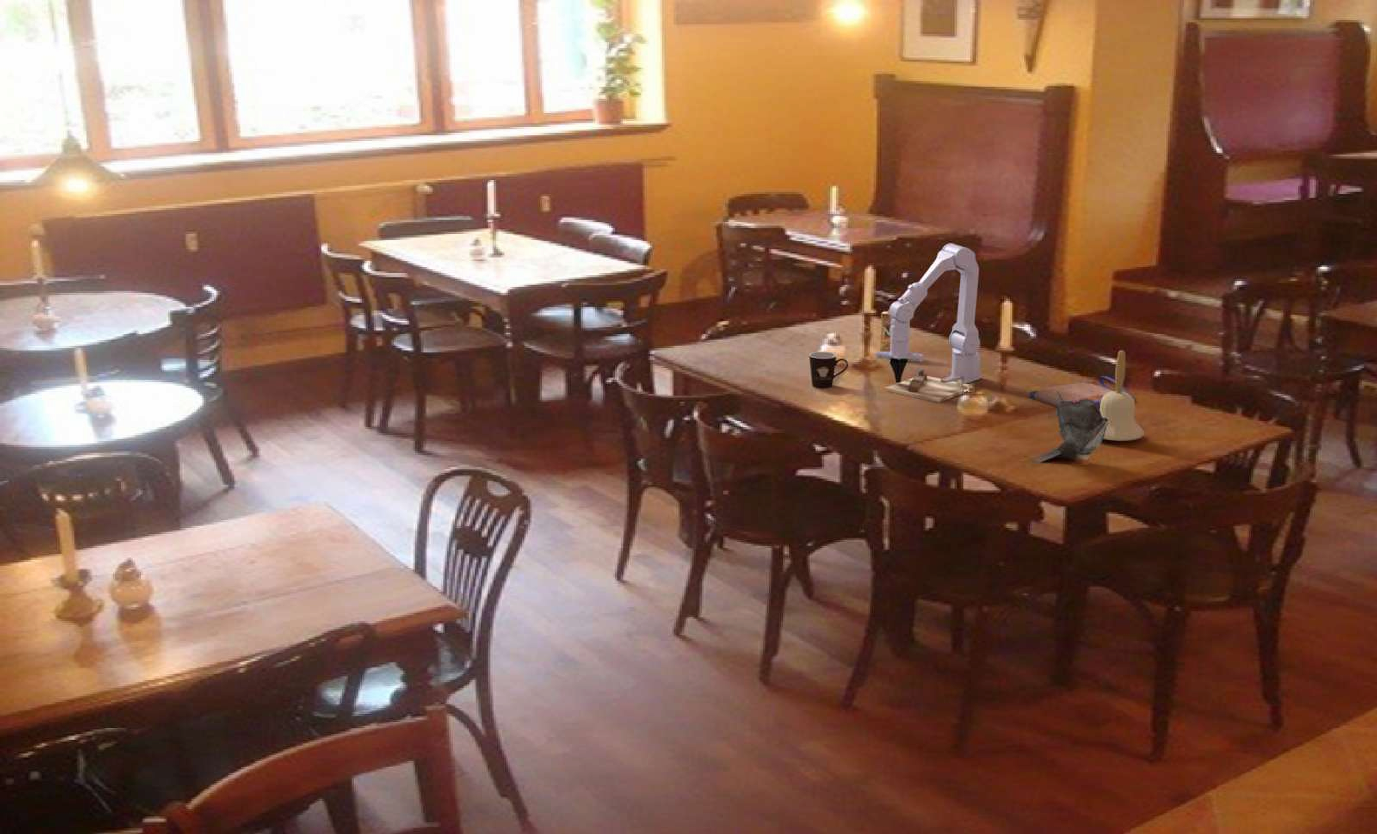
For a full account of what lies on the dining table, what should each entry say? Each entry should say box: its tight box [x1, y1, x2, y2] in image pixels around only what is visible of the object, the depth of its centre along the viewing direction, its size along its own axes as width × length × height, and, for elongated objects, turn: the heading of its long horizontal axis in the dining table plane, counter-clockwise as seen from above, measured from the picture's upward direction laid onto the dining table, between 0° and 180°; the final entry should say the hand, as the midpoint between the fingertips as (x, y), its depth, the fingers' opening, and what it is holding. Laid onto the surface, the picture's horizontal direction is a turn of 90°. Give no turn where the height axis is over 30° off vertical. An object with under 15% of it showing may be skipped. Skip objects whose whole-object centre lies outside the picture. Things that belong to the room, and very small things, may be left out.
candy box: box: [879, 310, 891, 352], centre depth 476 cm, size 9×4×15 cm, turn 70°
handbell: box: [1099, 350, 1145, 442], centre depth 386 cm, size 15×15×25 cm
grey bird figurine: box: [1032, 391, 1109, 466], centre depth 367 cm, size 14×15×18 cm
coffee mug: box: [808, 351, 849, 389], centre depth 442 cm, size 12×9×10 cm
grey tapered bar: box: [908, 369, 928, 391], centre depth 439 cm, size 17×4×3 cm, turn 162°
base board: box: [884, 375, 970, 403], centre depth 438 cm, size 20×20×1 cm
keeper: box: [940, 375, 965, 387], centre depth 435 cm, size 8×2×3 cm, turn 128°
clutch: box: [1028, 375, 1137, 408], centre depth 426 cm, size 28×5×19 cm
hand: (898, 381), depth 441 cm, fingers closed
